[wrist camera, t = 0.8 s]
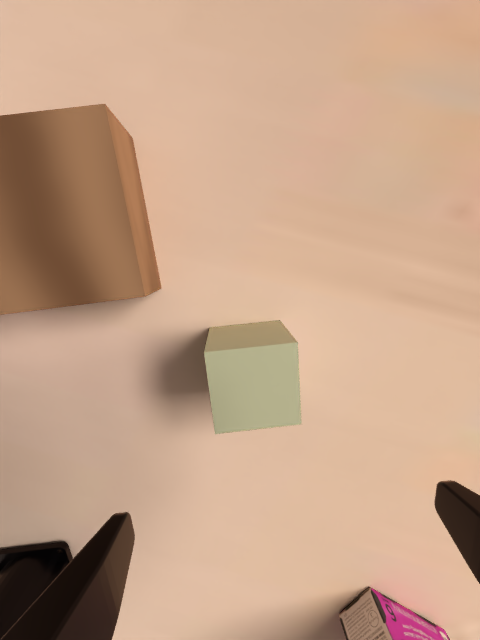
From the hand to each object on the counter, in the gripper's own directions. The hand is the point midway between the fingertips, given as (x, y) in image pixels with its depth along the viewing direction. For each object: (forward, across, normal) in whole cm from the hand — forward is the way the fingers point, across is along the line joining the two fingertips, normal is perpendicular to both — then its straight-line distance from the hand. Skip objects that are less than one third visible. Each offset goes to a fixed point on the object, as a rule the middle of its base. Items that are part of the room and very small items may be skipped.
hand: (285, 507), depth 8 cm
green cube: (+12, 0, 0) cm, 12 cm away
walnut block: (+12, +10, -10) cm, 19 cm away
